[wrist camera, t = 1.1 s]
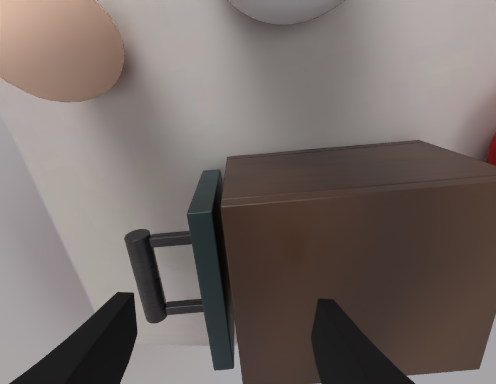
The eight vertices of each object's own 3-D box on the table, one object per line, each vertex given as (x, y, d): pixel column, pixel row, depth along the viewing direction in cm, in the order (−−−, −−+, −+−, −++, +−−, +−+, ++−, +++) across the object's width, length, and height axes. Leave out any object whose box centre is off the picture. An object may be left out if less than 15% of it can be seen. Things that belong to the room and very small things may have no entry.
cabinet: (241, 289, 25) (243, 390, 17) (227, 156, 20) (220, 206, 12) (400, 275, 25) (479, 369, 17) (419, 139, 20) (537, 178, 12)
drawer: (167, 297, 24) (141, 377, 17) (140, 176, 20) (93, 221, 13) (373, 279, 24) (423, 352, 17) (384, 154, 20) (454, 189, 13)
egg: (110, 115, 19) (24, 138, 11) (36, 55, 18) (-120, 35, 10) (158, 50, 18) (99, 27, 10) (82, -21, 16) (-55, -109, 9)
